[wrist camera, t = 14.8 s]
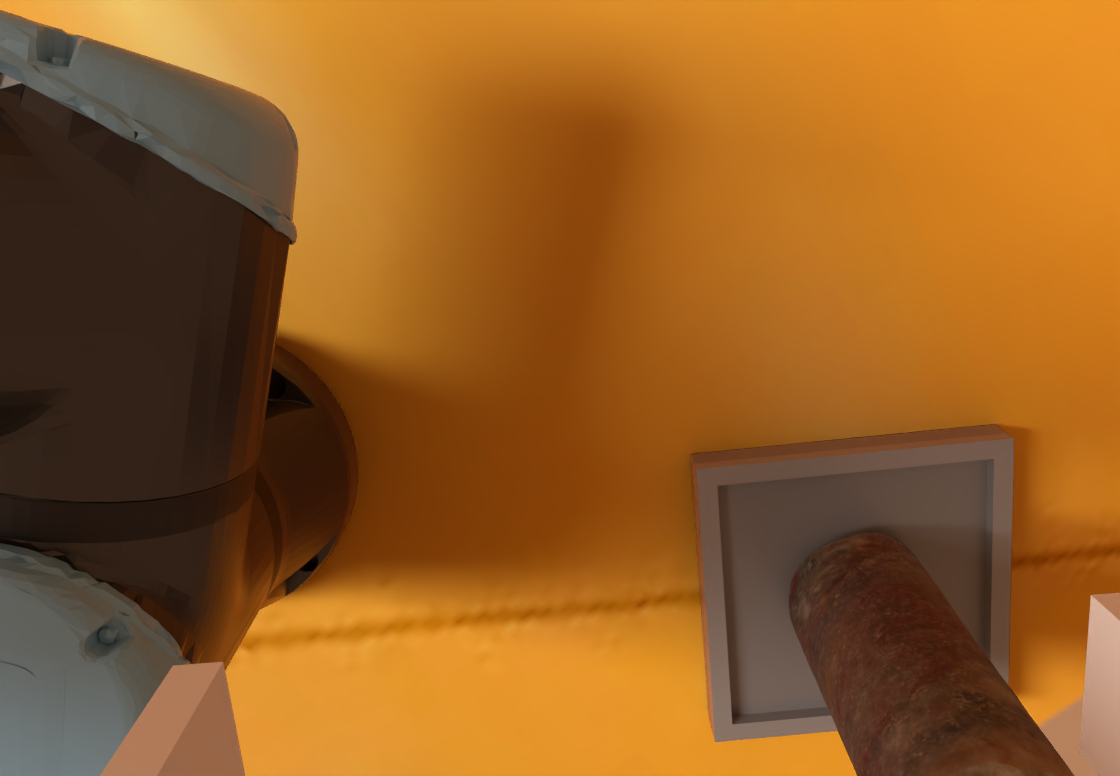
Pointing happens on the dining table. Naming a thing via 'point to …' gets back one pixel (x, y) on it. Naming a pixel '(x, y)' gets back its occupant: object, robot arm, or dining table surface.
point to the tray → (829, 515)
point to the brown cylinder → (907, 669)
